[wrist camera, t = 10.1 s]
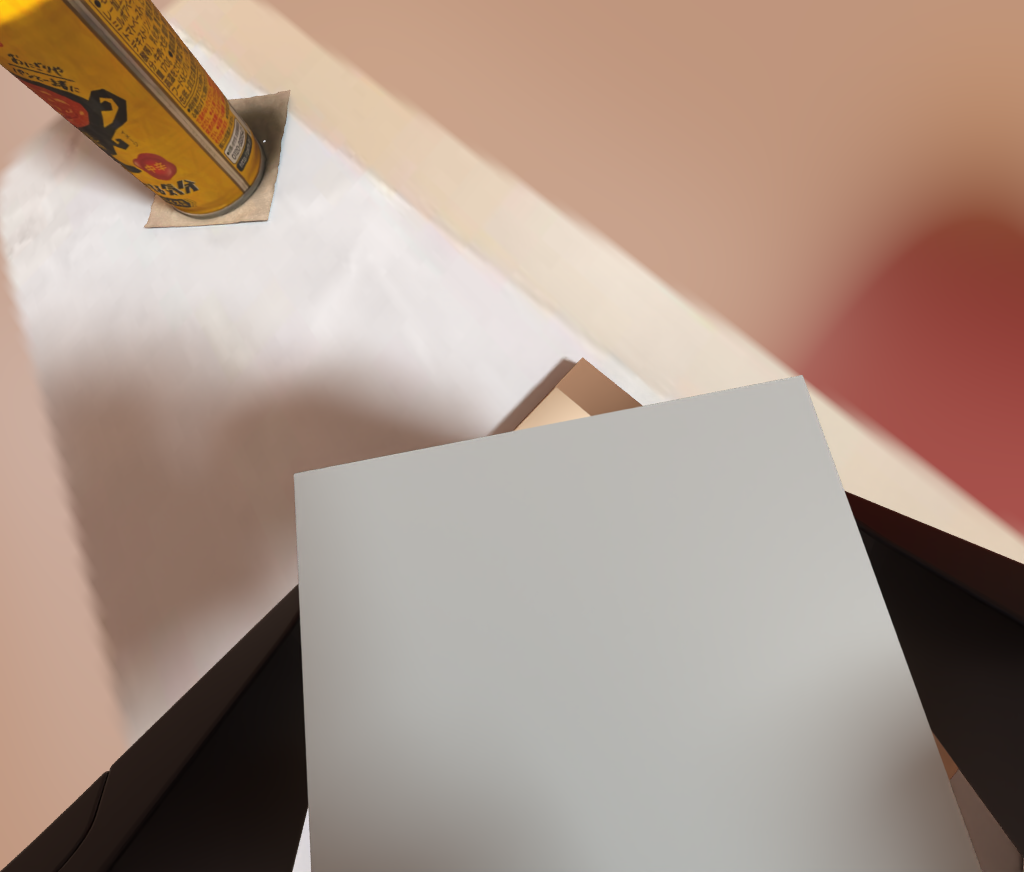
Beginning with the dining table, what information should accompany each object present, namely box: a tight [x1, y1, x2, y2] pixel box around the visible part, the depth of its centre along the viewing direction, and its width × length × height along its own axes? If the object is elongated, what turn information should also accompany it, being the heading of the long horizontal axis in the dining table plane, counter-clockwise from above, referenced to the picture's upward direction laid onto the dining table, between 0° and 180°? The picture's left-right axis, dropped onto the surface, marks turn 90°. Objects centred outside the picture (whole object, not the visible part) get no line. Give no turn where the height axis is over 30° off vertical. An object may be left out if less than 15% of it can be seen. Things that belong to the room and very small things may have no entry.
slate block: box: [294, 375, 982, 872], centre depth 10 cm, size 4×5×12 cm
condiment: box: [0, 0, 290, 227], centre depth 17 cm, size 7×8×12 cm
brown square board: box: [513, 358, 959, 781], centre depth 15 cm, size 18×16×1 cm
